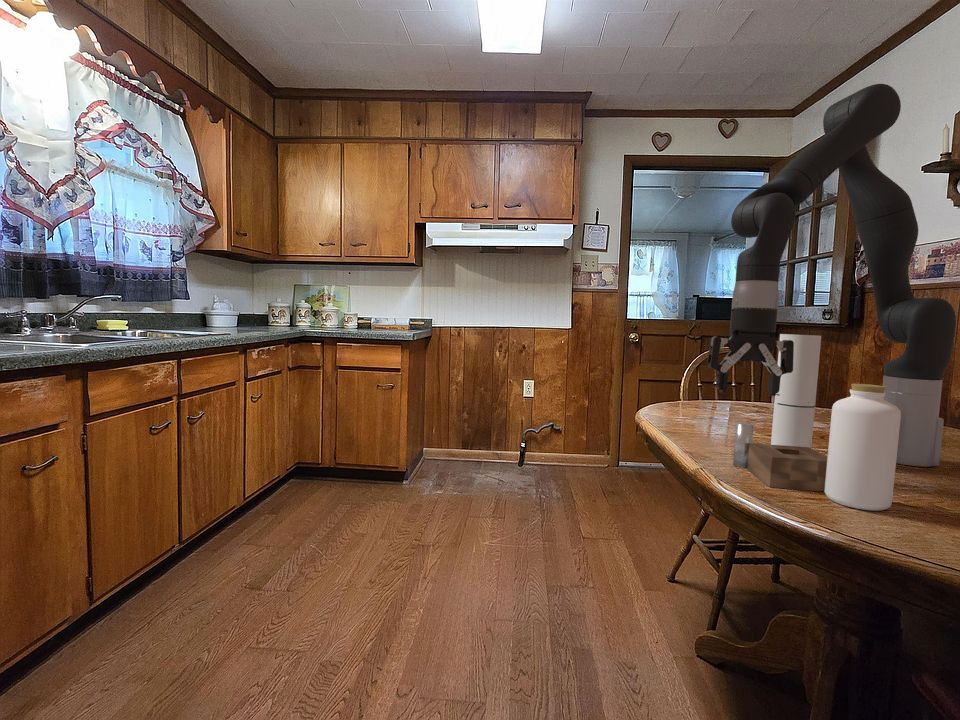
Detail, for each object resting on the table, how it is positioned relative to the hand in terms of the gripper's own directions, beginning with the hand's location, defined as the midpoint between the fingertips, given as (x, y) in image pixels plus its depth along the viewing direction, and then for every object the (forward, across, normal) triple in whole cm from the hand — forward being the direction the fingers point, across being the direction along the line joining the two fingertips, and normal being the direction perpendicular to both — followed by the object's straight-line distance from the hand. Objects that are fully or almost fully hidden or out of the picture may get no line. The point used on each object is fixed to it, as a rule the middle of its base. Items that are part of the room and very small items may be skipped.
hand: (746, 394), depth 97 cm
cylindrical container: (+14, -13, -11) cm, 22 cm away
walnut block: (+14, -5, +8) cm, 17 cm away
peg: (+14, 0, 0) cm, 14 cm away
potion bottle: (+14, -11, +18) cm, 25 cm away
